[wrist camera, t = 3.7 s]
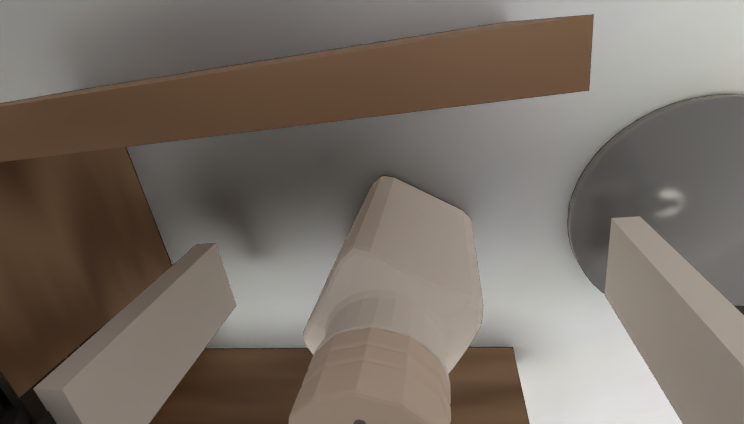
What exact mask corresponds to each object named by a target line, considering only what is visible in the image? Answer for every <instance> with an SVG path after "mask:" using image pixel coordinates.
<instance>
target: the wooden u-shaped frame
mask: <svg viewBox="0 0 744 424" xmlns="http://www.w3.org/2000/svg"><path fill="white" fill-rule="evenodd" d="M593 17H594V14H592V15H581V16H569V17H557V18H546V19H534V20H523V21H511V22H503V23H497V24H490V25H484V26H478V27H472V28H465V29H459V30H453V31H446V32H440V33H434V34H427V35H421V36H415V37H409V38H402V39H396V40H390V41H383V42H377V43H371V44H364V45H358V46H352V47H346V48H339V49H333V50H327V51H320V52H314V53H308V54H301V55H295V56H289V57H283V58H276V59H270V60H264V61H257V62H251V63H245V64H238V65H232V66H226V67H220V68H213V69H207V70H201V71H194V72H188V73H182V74H175V75H169V76H163V77H156V78H150V79H144V80H138V81H131V82H125V83H119V84H112V85H106V86H100V87H93V88H87V89H81V90H75V91H69V92H63V93H58V94H52V95H46V96H40V97H34V98H28V99H23V100H17V101H11V102H5V103H0V372H2V373H3V374H4V375H5V377H6V379H7V380H8V382H9V383H10V385H11V386H12V388H13V389H14V391H15V392H16V394H17V395H18V397H19V398H20V397H21V396H22V395H23V394H24V393H25V392H27V391H28V390H29V389H30V388H31V387H32V386H33V385H35V384H36V383H37V382H38V381H39V380H40V379H41V378H43V377H44V376H45V375H46V374H47V373H48V372H49V371H51V370H52V369H53V368H54V367H55V366H56V365H57V364H58V363H60V362H61V361H62V360H63V359H67V356H68V355H69V354H70V353H71V352H72V351H73V350H74V349H76V348H79V347H80V344H81V343H82V342H84V341H85V340H86V339H87V338H88V337H89V336H90V335H92V334H93V333H94V332H95V331H97V330H99V329H100V328H102V327H103V326H105V325H106V324H107V323H108V322H109V321H110V320H111V319H113V318H114V317H115V316H116V315H117V314H118V313H119V312H120V311H122V310H123V309H124V308H125V307H126V306H127V305H128V304H130V303H131V302H132V301H133V300H134V299H135V298H136V297H137V296H139V295H140V294H141V293H142V292H143V291H144V290H145V289H147V288H148V287H149V286H150V285H151V284H152V283H153V282H154V281H156V280H157V279H158V278H159V277H160V276H161V275H162V274H164V273H165V272H166V271H167V270H168V269H169V268H170V267H171V266H172V265H171V262H170V260H169V257H168V255H167V252H166V249H165V247H164V244H163V242H162V239H161V237H160V234H159V232H158V229H157V227H156V224H155V221H154V219H153V216H152V214H151V211H150V209H149V206H148V204H147V201H146V199H145V196H144V193H143V191H142V188H141V186H140V183H139V181H138V178H137V176H136V173H135V171H134V168H133V165H132V163H131V160H130V158H129V155H128V153H127V150H126V148H125V147H129V146H137V145H145V144H153V143H161V142H170V141H178V140H186V139H194V138H203V137H211V136H219V135H227V134H236V133H244V132H252V131H260V130H268V129H277V128H285V127H293V126H301V125H310V124H318V123H326V122H334V121H342V120H351V119H359V118H367V117H375V116H384V115H392V114H400V113H408V112H416V111H425V110H433V109H441V108H449V107H458V106H466V105H474V104H482V103H491V102H499V101H507V100H515V99H523V98H532V97H540V96H548V95H556V94H565V93H573V92H581V91H589V85H590V68H591V51H592V34H593ZM312 357H313V354H312V353H311V351H310V350H309V349H204V350H203V351H202V353H201V354H200V355H199V357H198V358H197V359H196V361H195V362H194V363H193V365H192V366H191V367H190V369H189V370H188V372H187V373H186V374H185V376H184V377H183V378H182V380H181V381H180V382H179V384H178V385H177V386H176V388H175V389H174V390H173V392H172V393H171V394H170V396H169V397H168V399H167V400H166V401H165V403H164V404H163V405H162V407H161V408H160V409H159V411H158V412H157V413H156V415H155V416H154V417H153V419H152V420H151V422H150V423H149V424H288V422H289V416H290V413H291V411H292V408H293V405H294V403H295V400H296V398H297V395H298V393H299V390H300V388H302V383H303V380H304V377H305V375H306V373H307V372H308V367H309V365H310V362H311V360H312ZM448 375H449V379H450V391H451V404H450V407H451V422H450V424H530V423H529V419H528V414H527V410H526V405H525V401H524V396H523V392H522V387H521V383H520V378H519V374H518V369H517V365H516V360H515V356H514V351H513V348H467V350H466V351H465V353H464V354H463V355H462V357H461V358H460V360H459V361H458V362H457V364H456V365H455V366H454V368H453V369H452V370H451V371H450V373H449V374H448Z"/></svg>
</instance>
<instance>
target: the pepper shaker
mask: <svg viewBox="0 0 744 424" xmlns="http://www.w3.org/2000/svg"><path fill="white" fill-rule="evenodd" d="M483 306H484V305H483V299H482V292H481V285H480V278H479V272H478V265H477V258H476V251H475V245H474V238H473V231H472V224H471V219H470V218H469V217H468V216H467V215H466V214H465V213H464V211H462V210H460V209H458V208H456V207H454V206H452V205H450V204H448V203H446V202H444V201H442V200H440V199H437V198H435V197H433V196H431V195H429V194H427V193H425V192H423V191H421V190H419V189H417V188H415V187H413V186H411V185H409V184H407V183H404V182H402V181H400V180H398V179H396V178H394V177H386V176H382V177H380V178H379V179H378V180H377V181H376V182H374V183H373V184H372V186H371V188H370V190H369V192H368V194H367V196H366V198H365V201H364V203H363V205H362V207H361V209H360V211H359V213H358V215H357V217H356V219H355V221H354V223H353V225H352V227H351V229H350V231H349V233H348V235H347V238H346V240H345V242H344V244H343V246H342V248H341V250H340V253H339V255H338V257H337V259H336V261H335V264H334V266H333V268H332V270H331V272H330V274H329V277H328V279H327V281H326V283H325V285H324V288H323V290H322V292H321V294H320V296H319V299H318V301H317V303H316V305H315V307H314V310H313V312H312V314H311V316H310V318H309V320H308V323H307V325H306V327H305V329H304V331H303V336H304V341H305V344H306V346H307V347H308V349H309V350H310V351H311V353H312V354H313V357H312V360H311V362H310V365H309V367H308V372H307V373H306V375H305V377H304V380H303V383H302V388H300V390H299V393H298V395H297V398H296V400H295V403H294V405H293V408H292V411H291V413H290V416H289V422H288V424H450V422H451V407H450V404H451V391H450V379H449V375H448V374H449V373H450V371H451V370H452V369H453V368H454V366H455V365H456V364H457V362H458V361H459V360H460V358H461V357H462V355H463V354H464V353H465V351H466V350H467V348H468V347H469V345H470V343H471V342H472V340H473V338H474V337H475V335H476V333H477V332H478V330H479V329H480V327H481V323H482V315H483Z"/></svg>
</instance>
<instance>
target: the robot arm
mask: <svg viewBox="0 0 744 424" xmlns="http://www.w3.org/2000/svg"><path fill="white" fill-rule="evenodd" d="M605 296H606V298H607V300H608V301H609V303H610V305H611V306H612V308H613V310H614V311H615V313H616V315H617V316H618V318H619V320H620V321H621V323H622V324H623V326H624V328H625V329H626V331H627V333H628V334H629V336H630V338H631V339H632V341H633V343H634V344H635V346H636V347H637V349H638V351H639V352H640V354H641V356H642V357H643V359H644V361H645V362H646V364H647V366H648V367H649V369H650V371H651V372H652V374H653V375H654V377H655V379H656V380H657V382H658V384H659V385H660V387H661V389H662V390H663V392H664V394H665V395H666V397H667V398H668V400H669V402H670V403H671V405H672V407H673V408H674V410H675V412H676V413H677V415H678V417H679V418H680V420H681V421H682V423H683V424H744V305H742V306H734V305H732V304H731V303H730V302H729V301H728V300H727V299H726V298H725V297H724V296H723V295H722V294H721V293H720V292H719V291H718V290H717V289H716V288H715V287H714V286H713V285H711V284H710V283H709V282H708V281H707V280H706V279H705V278H704V277H703V276H702V275H701V274H700V273H699V272H698V271H697V270H696V269H695V268H694V267H693V266H692V265H691V264H689V263H688V262H687V261H686V260H685V259H684V258H683V257H682V256H681V255H680V254H679V253H678V252H677V251H676V250H675V249H674V248H673V247H672V246H671V245H670V244H668V243H667V242H666V241H665V240H664V239H663V238H662V237H661V236H660V235H659V234H658V233H657V232H656V231H655V230H654V229H653V228H652V227H651V226H650V225H649V224H647V223H646V222H645V221H644V220H643V219H642V218H641V217H640V216H637V217H621V218H611V229H610V240H609V251H608V262H607V273H606V284H605ZM235 307H236V302H235V300H234V297H233V294H232V291H231V288H230V285H229V282H228V279H227V276H226V273H225V270H224V267H223V264H222V261H221V258H220V255H219V252H218V249H217V246H216V243H207V244H196V245H195V246H194V247H193V248H192V249H191V250H190V251H188V252H187V253H186V254H185V255H184V256H183V257H182V258H181V259H179V260H178V261H177V262H176V263H175V264H174V265H173V266H171V267H170V268H169V269H168V270H167V271H166V272H165V273H164V274H162V275H161V276H160V277H159V278H158V279H157V280H156V281H154V282H153V283H152V284H151V285H150V286H149V287H148V288H147V289H145V290H144V291H143V292H142V293H141V294H140V295H139V296H137V297H136V298H135V299H134V300H133V301H132V302H131V303H130V304H128V305H127V306H126V307H125V308H124V309H123V310H122V311H120V312H119V313H118V314H117V315H116V316H115V317H114V318H113V319H111V320H110V321H109V322H108V323H107V324H106V325H105V326H103V327H102V328H100V329H99V330H97V331H95V332H94V333H93V334H92V335H90V336H89V337H88V338H87V339H86V340H85V341H84V342H82V343H81V344H80V347H79V348H76V349H74V350H73V351H72V352H71V353H70V354H69V355H68V356H67V359H63V360H62V361H61V362H60V363H58V364H57V365H56V366H55V367H54V368H53V369H52V370H51V371H49V372H48V373H47V374H46V375H45V376H44V377H43V378H41V379H40V380H39V381H38V382H37V383H36V384H35V385H33V386H32V387H31V388H30V389H29V390H28V391H27V392H25V393H24V394H23V395H22V396H21V397H20V398H19V397H18V395H17V394H16V392H15V391H14V389H13V388H12V386H11V385H10V383H9V382H8V380H7V379H6V377H5V375H4V374H3V373H2V372H0V424H149V423H150V422H151V420H152V419H153V417H154V416H155V415H156V413H157V412H158V411H159V409H160V408H161V407H162V405H163V404H164V403H165V401H166V400H167V399H168V397H169V396H170V394H171V393H172V392H173V390H174V389H175V388H176V386H177V385H178V384H179V382H180V381H181V380H182V378H183V377H184V376H185V374H186V373H187V372H188V370H189V369H190V367H191V366H192V365H193V363H194V362H195V361H196V359H197V358H198V357H199V355H200V354H201V353H202V351H203V350H204V349H205V347H206V346H207V344H208V343H209V342H210V340H211V339H212V338H213V336H214V335H215V334H216V332H217V331H218V330H219V328H220V327H221V326H222V324H223V323H224V322H225V320H226V319H227V317H228V316H229V315H230V313H231V312H232V311H233V309H234V308H235Z"/></svg>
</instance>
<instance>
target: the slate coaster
mask: <svg viewBox="0 0 744 424" xmlns="http://www.w3.org/2000/svg"><path fill="white" fill-rule="evenodd" d="M637 216H640V217H641V218H642V219H643V220H644V221H645V222H646V223H647V224H649V225H650V226H651V227H652V228H653V229H654V230H655V231H656V232H657V233H658V234H659V235H660V236H661V237H662V238H663V239H664V240H665V241H666V242H667V243H668V244H670V245H671V246H672V247H673V248H674V249H675V250H676V251H677V252H678V253H679V254H680V255H681V256H682V257H683V258H684V259H685V260H686V261H687V262H688V263H689V264H691V265H692V266H693V267H694V268H695V269H696V270H697V271H698V272H699V273H700V274H701V275H702V276H703V277H704V278H705V279H706V280H707V281H708V282H709V283H710V284H711V285H713V286H714V287H715V288H716V289H717V290H718V291H719V292H720V293H721V294H722V295H723V296H724V297H725V298H726V299H727V300H728V301H729V302H730V303H731V304H732V305H734V306H741V305H744V95H736V94H723V95H709V96H703V97H697V98H691V99H688V100H684V101H681V102H677V103H674V104H671V105H668V106H666V107H663V108H661V109H658V110H656V111H654V112H652V113H650V114H648V115H646V116H644V117H642V118H640V119H638V120H637V121H635V122H634V123H632V124H631V125H629V126H628V127H626V128H625V129H623V130H622V131H621V132H619V133H618V134H617V135H616V136H615V137H613V138H612V139H611V140H610V141H609V142H608V143H607V144H606V145H605V146H604V147H603V148H602V149H601V150H600V151H599V152H598V153H597V154H596V155H595V156H594V158H593V159H592V160H591V162H590V163H589V164H588V166H587V167H586V168H585V170H584V172H583V174H582V175H581V177H580V179H579V180H578V183H577V185H576V187H575V190H574V192H573V195H572V198H571V202H570V205H569V212H568V220H567V221H568V236H569V241H570V245H571V248H572V251H573V253H574V256H575V258H576V259H577V261H578V263H579V265H580V266H581V268H582V270H583V271H584V273H585V275H586V276H587V277H588V279H589V280H590V281H591V282H592V283H593V285H595V286H596V287H597V288H598V289H599V290H600V291H601V292H602V293H604V294H605V284H606V273H607V262H608V251H609V240H610V229H611V218H621V217H637Z"/></svg>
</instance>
